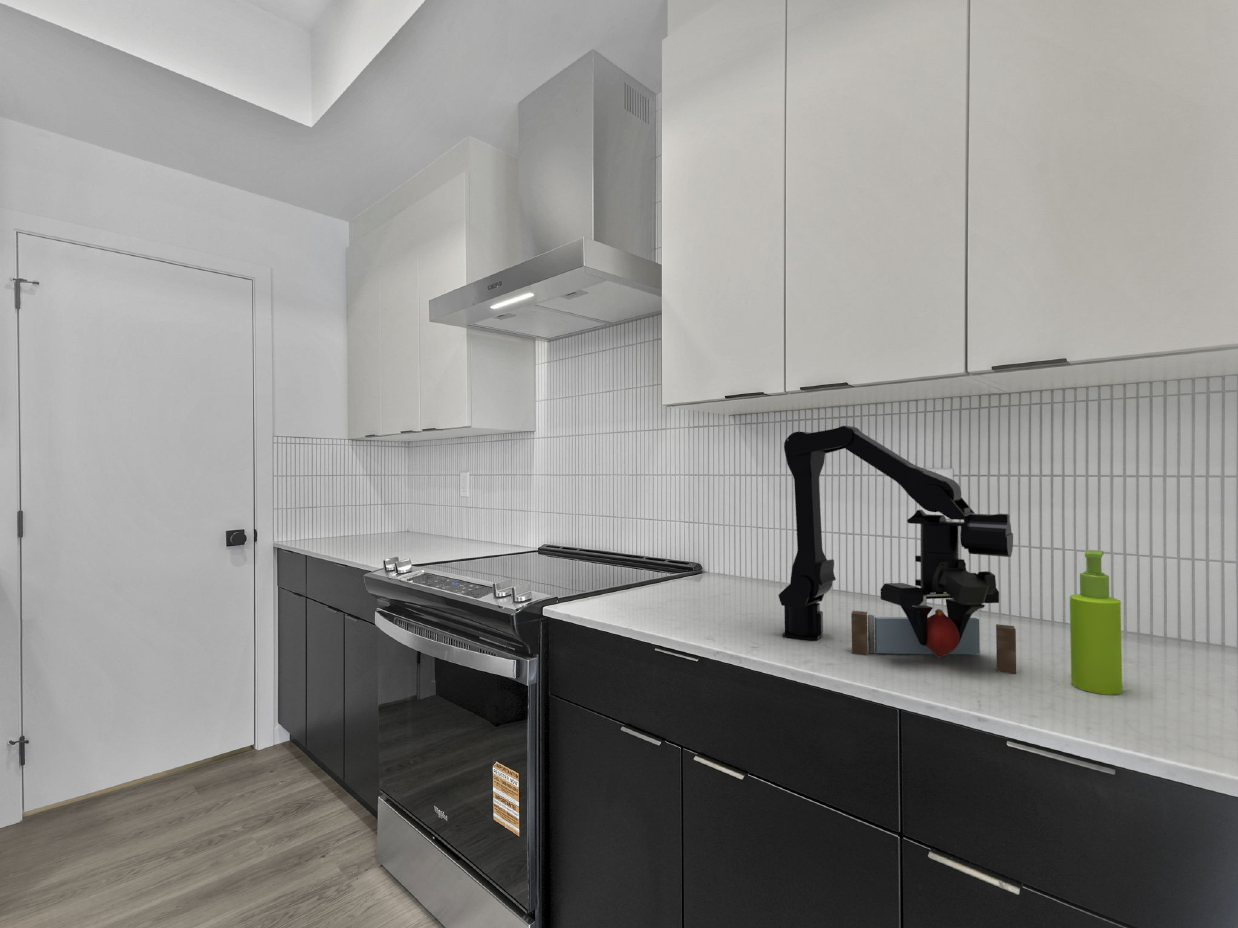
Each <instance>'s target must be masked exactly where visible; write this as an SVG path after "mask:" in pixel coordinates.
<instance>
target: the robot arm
mask: <svg viewBox="0 0 1238 928" xmlns="http://www.w3.org/2000/svg"><path fill="white" fill-rule="evenodd" d="M783 450H784V454H785V459H786V464H787V466H788V468H789V470H790V473H791V475H792V477H793V482H794V483H793V484H794V500H795V501H794V504H795V523H796V544H797V547H796V549H797V550H796V555H795V558H794V561H793V563H792V566H791V573H790V583H789V584H788V585H787V586H786V587H785V588H784V589H783V590H782V591H781V592H780V593H778V599H779V602H780V605H781V606H782V607H784V610H783V611H784V613H783V615H784V631H783V633H782V637H784V638H790V639H791V638H794V639H801V640H810V641H817V640H819V639H820V636H822V634H823V633H824V612H823V611H822V610H821V604H820V602H822V601H823V599H824V596H825V595H826V593H828V592H829V591H830V590H831V589H832V587H833V583H834V581H836V580H837V578H836V576H835V572H834V568H835V560H834V559H832V558H831V559H827V557H826V555H825V553H824V549H823V534H822V516H821V497H820V496H821V495H820V475H821V473H822V470H823V467H824V465H825V458H826V454H829V453H834V452H838V451H841V450H847V451H849V452H850V453H852V454H853V455H855V456H856V457H858V458H859V459H861V460H862V461H864V462H865V463H867V464H869V465H870V466H872V467H873V468H875V469H876V470H878V471H879V472H881V473H882V474H884V475H886V476H887V477H889V478H891V480H892V481H895V482H896V483H897V484H898V485H899V486H901V488H902V489H903V490H904V491H905V492H906V494H907V495H908V496H909V497H910V498H911V499H913V500H914V501H915V503H917V504H918V505H919V506H920V507H921V508H922V509H917V510H916V512H915V513H914V514H913V515H912V516H911V517H909V518H907V519H906V522H907V523H908V524H910V525H911V524H915V525H916V524H917V525H920V555H915V558H914V559H915V562H917V563H920V579H919V578H918V579H917V578H916V579H914V581H915V585H911V584H908V583H903V582H894V583H893V582H891V583H890V582H889V583H888V582H887V583H886V582H885V583H884V584H882V587H881V588H880V600H883V601H884V602H888V603H891V604H894V605H897V606H900V607H901V609H902V611H903V612H904V615H905V617H907V618H908V619H909V621H910V623H911V626H912V628H913V630H914V632H915V634H916V636H917V638H918V641H919V643H920V644H921V645H923V646H926V644H927V622H928V617H929V614H930V613H931V612H932V610H933V607H932V606H929V605H928V604H927V602H928V601H927V600H933V599H934V600H935V599H938V600H939V599H945V604H946V613H947V617H949V618H950V619H951V620H952V621H953V622H954V624H955V625H956V627H957V628H958V631H959V636H960V639H959V642H960V640H961V637H962V635H963V632H964V630H965V627H966V625H967V623H968V621H969V619H970V618H972V617H971V616H972V615H973V614H974V613H975V612H977V611H978V610H980V609H984V608H985V607H986V605H985V604H999V603H1000V591H999V589H998V588H997V581H996V575H995V574H994V573H992V572H991V571H979V572H977V573H976V572H970V571H967V568H966V567H967V563H966V562H965V559H964V558H959V557H960V553H959V549H960V547H959V546H960V545H961V548H964V549H965V550H967V551H968V554H969V555H980V556H989V557H990V556H992V557H1002V558H1003V557H1005V558H1011V557H1012V554H1013V548H1014V547H1013V546H1014V533H1013V532H1012V526H1011V525H1012V524H1011V521H1010V514H1009V513H995V514H991V513H989V514H988V513H987V514H986V513H975V511H974V510H973V509H972V508H971V507H970V506H969V504H968V503H967V502H966V500H965V499H964V498H963V497H962V490H961V486H960V485H959V483H957V482H956V481H955V480H954V479H952V478H950V477H947V476H944V475H943V474H940V473H937V472H934V471H932V470H929V469H927V468H924V467H920V466H918V465H916V464H913V463H912V462H910V461H908V460H907V459H906V458H904V457H902V456H900V455H899V454H897V453H896V452H894V451H893V450H891V449H890V448H888V447H887V446H885V445H882V444H881V443H879V442H878V441H876V440H875V439H874V438H871V437H870V436H868V435H866V434H865V433H863V431H861V430H860V429H859V428H858V427H855V426H851V425H841V426H838V427H835V428H830V429H826V430H820V431H815V432H807V431H794V432H792V433H790V434H789V435H788V436H787V438H786V439H785V441H784V442H783ZM923 509H924V510H926V512H927V511H928V512H930V513H940V514H929V513H928V514H927V513H925V511H924V510H923ZM946 517H947V518H948V519H950V521H949V520H947V518H946ZM951 520H957V521H951ZM959 520H960V521H959ZM961 520H962V521H961ZM959 527H960V529H959ZM959 531H960V532H959ZM959 534H960V536H959ZM959 537H960V540H959ZM959 541H960V542H959Z"/></svg>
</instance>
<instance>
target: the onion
mask: <svg viewBox="0 0 1238 928" xmlns="http://www.w3.org/2000/svg"><path fill="white" fill-rule="evenodd" d="M959 639H960V636H959V631H958V628H957V627H956V625H955V624H954V622H953V621H952V620H951V619H950V618H949V617H948V615H946V614H945V612H944V611H943V610H942V609H940V608H937V609H936V610H934V614H932V615H930V616H928V622H927V644H926V646H927V647H928V648H929V649H930V650H931V651H932V652H933V653H934V654H933V655H935V656H936V657H938V658H943V657H944V656H946V655H949V654H948V653H950V652H952V651H953V650H954V649H955V648H956V647H957V645H958V644H959Z"/></svg>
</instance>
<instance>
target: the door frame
mask: <svg viewBox="0 0 1238 928" xmlns="http://www.w3.org/2000/svg"><path fill="white" fill-rule="evenodd" d="M850 615H851V616H850V617H851V623H850V624H851V654H855V655H864V656H867V655H868V653H869V652H868V611H861V610H860V611H859V610H852V611H851V613H850ZM995 630H996V631H995V633H996V634H995V637H996V640H995V642H996V648H995V649H996V669H997V672H998V673H1005V674H1012V675H1016V674H1017V637H1016V636H1017V634H1016V633H1017V632H1016V628H1015V626H1014V625H1008V624H997V623H996V624H995Z"/></svg>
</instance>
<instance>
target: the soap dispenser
mask: <svg viewBox="0 0 1238 928" xmlns="http://www.w3.org/2000/svg"><path fill="white" fill-rule="evenodd" d="M1104 555H1105V554H1104V551H1103V550H1094V549H1093V550H1092V549H1087V550H1085V552H1084V557H1085V558H1086V571H1083V572H1081V573H1079V594H1078V593H1077V594H1071V595H1069V626H1070V627H1069V628H1070V632H1069V633H1070V636H1069V637H1070V680H1071V681H1070V684H1071V685H1072V686H1073V687H1075V688H1077V689H1078V690H1081V691H1084V692H1089V693H1093V694H1099V695H1108V696H1110V695H1113V696H1115V695H1120V694H1122V693H1123V671H1122V670H1123V669H1122V668H1123V665H1122V663H1123V662H1122V615H1121V614H1122V613H1121V610H1122V609H1121V600H1119V599H1117V598H1114V597H1111V596H1110V576H1109V575H1107V574H1105V572H1102V558H1103V556H1104Z"/></svg>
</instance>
